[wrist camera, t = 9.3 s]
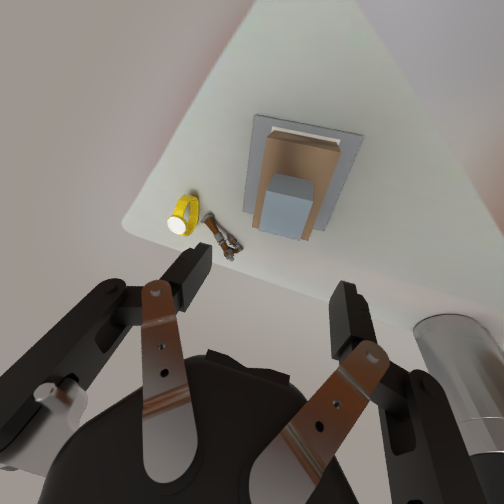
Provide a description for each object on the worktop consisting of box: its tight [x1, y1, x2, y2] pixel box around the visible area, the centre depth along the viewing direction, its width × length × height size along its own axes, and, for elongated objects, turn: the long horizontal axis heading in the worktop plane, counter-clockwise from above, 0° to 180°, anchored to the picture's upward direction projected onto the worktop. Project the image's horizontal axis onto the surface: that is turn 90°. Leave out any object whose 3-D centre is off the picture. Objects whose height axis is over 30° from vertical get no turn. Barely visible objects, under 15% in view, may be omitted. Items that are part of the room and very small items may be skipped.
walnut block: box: [252, 130, 341, 241], centre depth 25 cm, size 7×10×5 cm
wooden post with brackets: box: [200, 214, 243, 261], centre depth 34 cm, size 2×8×4 cm, turn 45°
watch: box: [167, 195, 199, 236], centre depth 31 cm, size 6×3×6 cm, turn 170°
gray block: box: [259, 173, 314, 240], centre depth 21 cm, size 4×4×5 cm
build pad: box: [243, 115, 364, 231], centre depth 27 cm, size 12×12×1 cm
